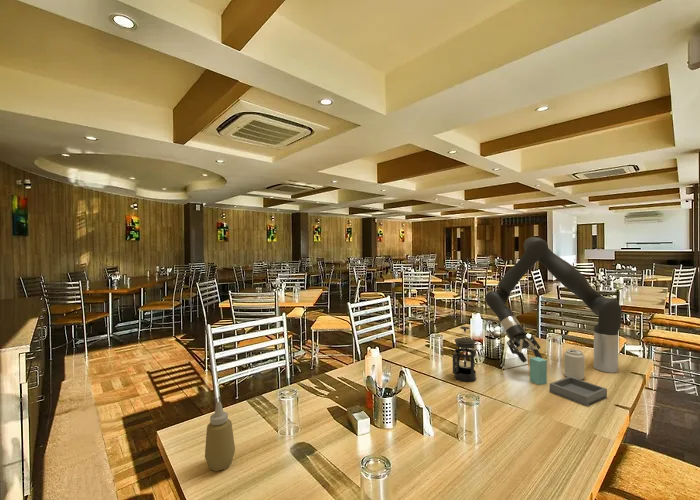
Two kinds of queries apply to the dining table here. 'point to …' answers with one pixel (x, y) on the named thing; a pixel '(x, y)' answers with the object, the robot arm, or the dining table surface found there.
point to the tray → (578, 391)
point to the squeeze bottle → (219, 440)
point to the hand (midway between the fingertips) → (532, 360)
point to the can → (574, 364)
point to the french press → (465, 368)
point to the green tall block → (538, 370)
